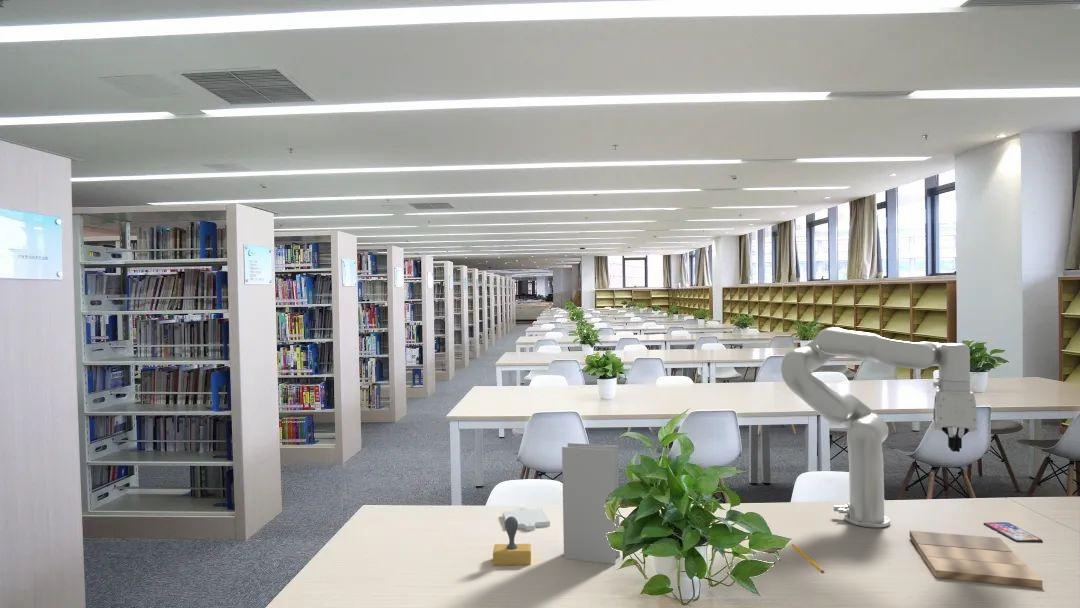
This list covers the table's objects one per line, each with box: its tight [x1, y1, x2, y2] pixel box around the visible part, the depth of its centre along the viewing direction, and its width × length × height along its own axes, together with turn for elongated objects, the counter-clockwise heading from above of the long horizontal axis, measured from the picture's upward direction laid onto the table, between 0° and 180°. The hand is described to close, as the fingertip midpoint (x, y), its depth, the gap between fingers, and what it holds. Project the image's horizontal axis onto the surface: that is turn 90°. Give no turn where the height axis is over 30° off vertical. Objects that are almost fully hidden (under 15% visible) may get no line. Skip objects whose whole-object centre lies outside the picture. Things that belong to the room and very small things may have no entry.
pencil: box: [791, 544, 826, 574], centre depth 173 cm, size 1×19×1 cm, turn 1°
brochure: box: [561, 442, 621, 565], centre depth 175 cm, size 14×6×30 cm, turn 71°
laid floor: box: [917, 544, 1043, 589], centre depth 164 cm, size 22×18×2 cm
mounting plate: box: [501, 507, 551, 532], centre depth 205 cm, size 18×13×2 cm
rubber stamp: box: [492, 516, 532, 566], centre depth 174 cm, size 10×6×12 cm, turn 90°
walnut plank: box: [909, 530, 1013, 552], centre depth 177 cm, size 22×9×2 cm, turn 72°
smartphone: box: [983, 521, 1044, 543], centre depth 188 cm, size 8×1×15 cm
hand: (954, 450), depth 185 cm, fingers closed
